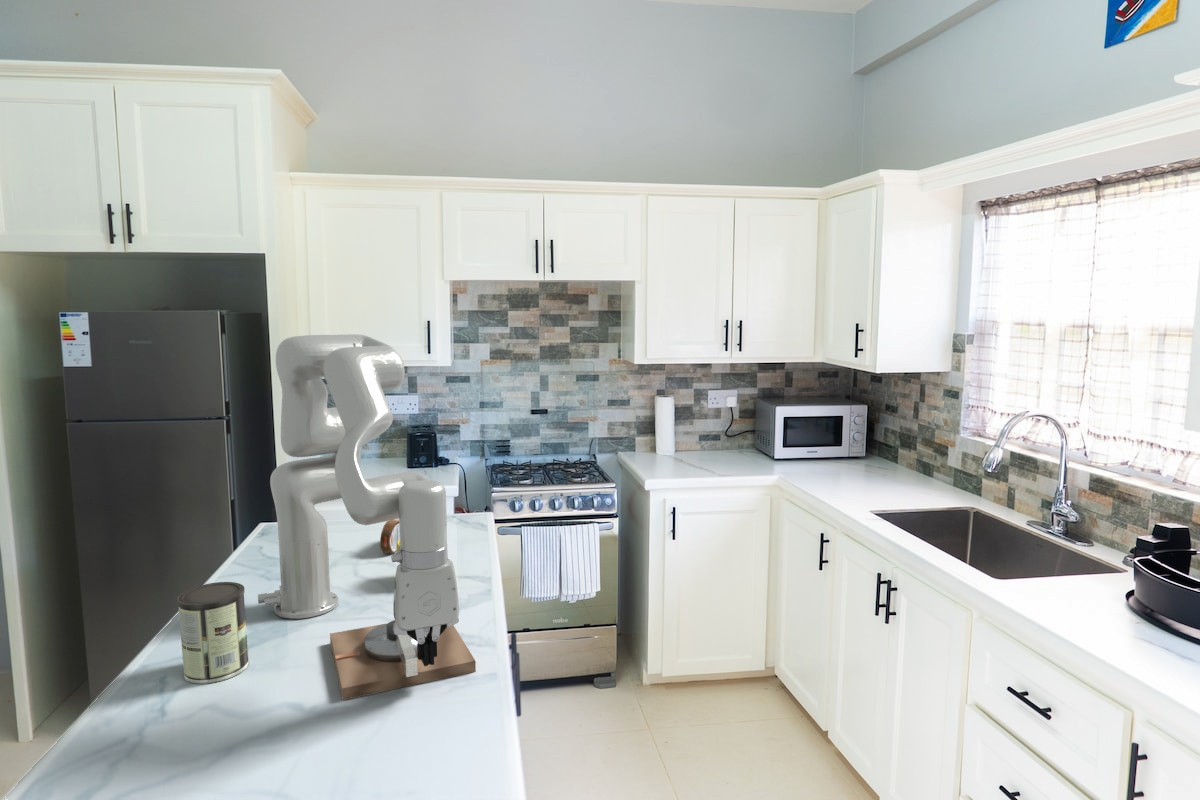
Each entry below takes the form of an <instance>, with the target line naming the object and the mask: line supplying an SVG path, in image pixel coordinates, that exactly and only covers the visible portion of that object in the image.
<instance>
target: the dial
mask: <svg viewBox="0 0 1200 800" xmlns="http://www.w3.org/2000/svg"><path fill="white" fill-rule="evenodd" d="M394 622H395V619H394V620H391V621H390V622H388V624H387V623H384V625H381V624H380V625H381V626H379V627H377V628H375V629H373V630H371V631H370V632H369V633H368V634H367V635H366V636H365V652H366V654H367V655H368V656H369V657H370V658H372V659H375V660H379V661H389V662H392V661H401V662H402V665H403V668H404V671H405V675H406V677H410V676H415V675H418V671H417V657H418V655H417V641H416V640H414V639H413V638H412V637H410V636H409V635H395V634H394V631H393V626H394ZM428 631H429V627H428V628H423V632H424V636H425V637H426V635H427V634H428V633H429V632H428Z"/></svg>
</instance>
